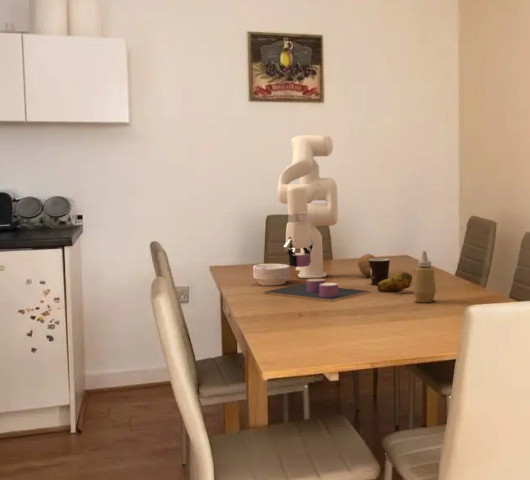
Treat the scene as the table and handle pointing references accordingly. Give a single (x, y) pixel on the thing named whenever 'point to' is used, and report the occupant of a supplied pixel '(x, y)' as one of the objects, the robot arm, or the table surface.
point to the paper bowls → (271, 273)
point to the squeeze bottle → (424, 281)
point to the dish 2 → (328, 290)
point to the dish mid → (314, 285)
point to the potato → (395, 282)
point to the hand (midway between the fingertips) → (300, 264)
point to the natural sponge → (365, 264)
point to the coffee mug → (379, 269)
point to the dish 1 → (302, 259)
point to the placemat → (302, 291)
